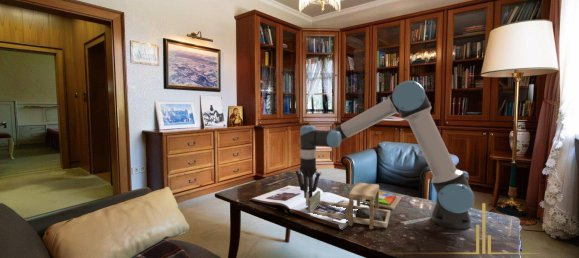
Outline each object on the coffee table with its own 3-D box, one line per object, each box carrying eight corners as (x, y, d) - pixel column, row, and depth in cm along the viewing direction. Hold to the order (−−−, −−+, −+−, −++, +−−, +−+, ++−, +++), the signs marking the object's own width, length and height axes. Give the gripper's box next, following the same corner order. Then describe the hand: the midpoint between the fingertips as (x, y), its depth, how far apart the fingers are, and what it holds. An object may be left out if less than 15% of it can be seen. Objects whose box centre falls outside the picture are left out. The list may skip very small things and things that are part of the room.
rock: (384, 224, 121) (385, 210, 121) (361, 226, 119) (361, 212, 119) (374, 216, 130) (374, 204, 130) (352, 218, 128) (352, 205, 128)
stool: (378, 213, 133) (379, 184, 131) (372, 229, 116) (373, 196, 115) (357, 210, 137) (357, 182, 135) (348, 225, 120) (349, 193, 119)
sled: (390, 214, 129) (390, 200, 128) (386, 227, 116) (387, 211, 115) (318, 204, 143) (318, 190, 143) (307, 214, 130) (307, 200, 129)
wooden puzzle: (358, 204, 147) (358, 197, 146) (370, 194, 162) (370, 188, 162) (392, 211, 137) (393, 204, 136) (402, 200, 152) (402, 193, 152)
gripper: (323, 157, 136) (323, 204, 138) (298, 155, 141) (299, 200, 144) (318, 160, 129) (318, 209, 131) (292, 158, 135) (293, 205, 137)
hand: (308, 204), depth 138 cm, fingers closed
